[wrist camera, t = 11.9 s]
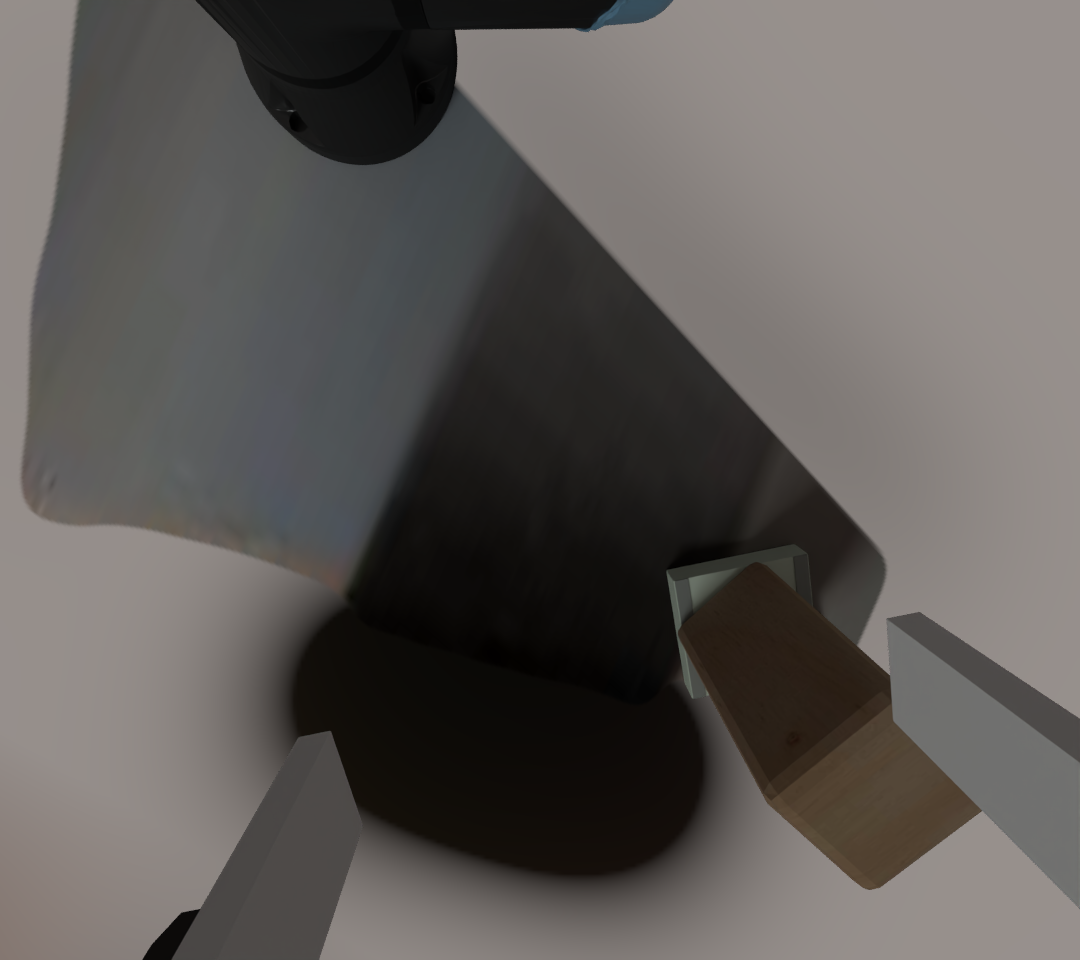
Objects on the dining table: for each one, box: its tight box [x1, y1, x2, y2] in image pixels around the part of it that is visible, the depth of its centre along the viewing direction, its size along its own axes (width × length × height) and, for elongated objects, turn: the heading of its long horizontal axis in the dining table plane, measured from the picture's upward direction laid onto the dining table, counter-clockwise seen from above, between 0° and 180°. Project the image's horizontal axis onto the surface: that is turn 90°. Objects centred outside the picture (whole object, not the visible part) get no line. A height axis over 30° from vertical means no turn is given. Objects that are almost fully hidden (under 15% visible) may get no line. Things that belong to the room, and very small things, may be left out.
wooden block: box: [678, 562, 982, 890], centre depth 41 cm, size 10×10×20 cm
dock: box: [666, 544, 813, 699], centre depth 52 cm, size 12×12×3 cm
